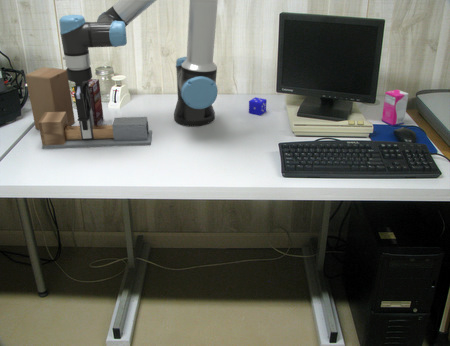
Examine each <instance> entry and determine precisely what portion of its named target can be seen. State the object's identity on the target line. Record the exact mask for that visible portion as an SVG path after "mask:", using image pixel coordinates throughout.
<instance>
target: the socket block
mask: <svg viewBox="0 0 450 346" xmlns="http://www.w3.org/2000/svg"><path fill="white" fill-rule="evenodd" d="M38 125H39V129H38V130H39V133H40V135H39V136H40V139H41V143H42V144H41V146H42V145H64V144H65V142H66V141H65V135H64V127H65V126H69V125H68V119H67V113H66V112H45V113H44V115H43V116H42V118H41V119H40V121H39V122H38Z"/></svg>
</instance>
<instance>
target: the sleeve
mask: <svg viewBox="0 0 450 346" xmlns="http://www.w3.org/2000/svg"><path fill="white" fill-rule="evenodd" d="M148 119H149V118H148V116H135V117H134V116H128V117H127V116H126V117H114V119H113V121H112V124H111V125H112V128H113V136H114V141H145V140H148V137H147V134H149V130H150V129H149V120H148Z"/></svg>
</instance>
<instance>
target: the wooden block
mask: <svg viewBox="0 0 450 346" xmlns="http://www.w3.org/2000/svg"><path fill="white" fill-rule="evenodd" d="M25 81H26V87H27V91H28V95H29V96H28V97H29V101H30V106H31V111H32V112H31V113H32V116H33V122H34V127H35V130H39V125H38V122H39V121H40V119H41V118H42V116H43V115H44V113H45V112H66V113H67V119H68V125H69V126H73V125H74V124H75V123H76V120H75V119H76V118H75V115H74V107H73V102H72V94H71V87H70V83H69V80H68V77H67V70H66V69H64V68H55V67H46V66H43V67H40V68H38V69H36V70H34V71H31V72H29V73H26V74H25Z"/></svg>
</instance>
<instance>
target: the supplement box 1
mask: <svg viewBox="0 0 450 346" xmlns="http://www.w3.org/2000/svg"><path fill="white" fill-rule="evenodd" d="M88 81H89V90H90V98H91V106H92V111H93V119H94V125H103V122H104V120H105V119H104V111H103V110H104V109H103V103H102V96H101V95H102V94H101V86H100V79H97V78H91V79H90V80H88Z"/></svg>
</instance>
